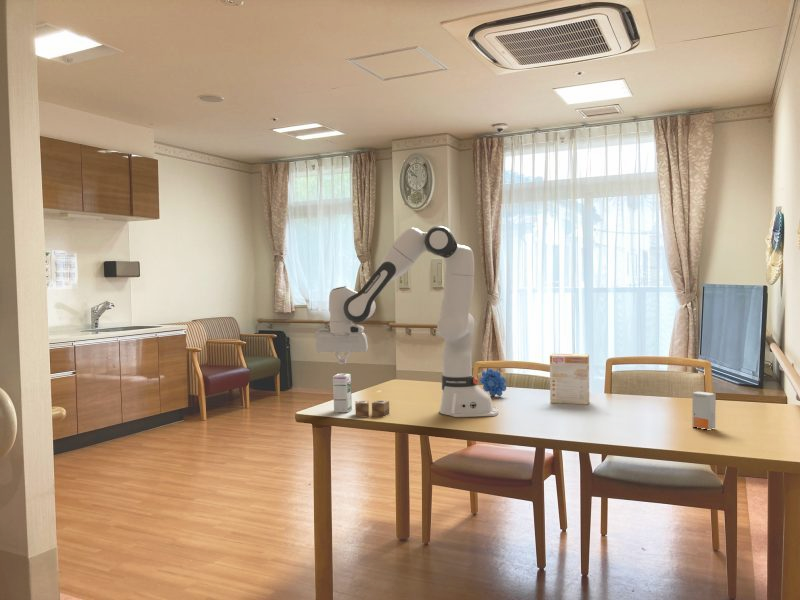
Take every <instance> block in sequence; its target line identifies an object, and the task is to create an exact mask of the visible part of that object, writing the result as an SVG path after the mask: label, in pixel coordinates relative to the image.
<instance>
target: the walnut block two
mask: <svg viewBox="0 0 800 600" xmlns="http://www.w3.org/2000/svg"><path fill="white" fill-rule="evenodd" d="M388 414H389V415H390V401H388V400H376V401H373V402H372V403H371V416H372V415H373V416H372V417H380V416H385V417H386V415H387V416H389V415H388Z"/></svg>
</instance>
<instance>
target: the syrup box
mask: <svg viewBox="0 0 800 600" xmlns="http://www.w3.org/2000/svg"><path fill="white" fill-rule="evenodd" d="M351 375H352V374H351V373H345V372H344V373H337V374H335V375H333V376H332V390H333V391H332V393H333V412H334V413H338V412H348V413H349V412H350V411H352V409H353V405H352V378H351V377H352V376H351Z"/></svg>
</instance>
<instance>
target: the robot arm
mask: <svg viewBox="0 0 800 600" xmlns="http://www.w3.org/2000/svg"><path fill="white" fill-rule="evenodd" d="M425 252H429V253H431V254H432V255H434V256H438V257H442V258H444V261H445V272H444V273H445V274H444V275H445V276H444V287H443V288H444V290H443V291H444V292H443V299H442V302H441V307H440V313H439V318H438V321H437V325H436V329H437V333H438V334H439V336H440V337H441V338H443V339H444V340H445V342H444V349H443V351H442V352H443V353H442V376H441V391H442V392H441V393H442V395H441V402H440V405H439V406H440V407H439V410H438V412H439V413H440V414H441V415H446V416H451V417H452V418H453V417H454V418H468V417H469V418H471V417H495V416H497V415H498V414H499V409H498V407H496V406H495V405H493V400H492V398H491V397H492V396H491V395H490V394H489V392H486V391H484V389H483V388H482V387H480V386H479V385H478V383H479V379H478V377H476V376H474V375H473V373H472V370H473V369H472V367H473V366H472V364H473V363H472V362H473V361H472V357H473V356H472V354H473V344H474V335H475V326H476V322H475V321H476V320H475V318H474V316H473V315H472V314H471V313H470V310H471V305H472V300H473V297H474V287H475V257H474V252H473V250H472V248H471V247H469V246H466V245H463V244H459V243H458V242H457V241H456V239H455V235H454V233H453V232H452V231H451V229H449V228H448V227H446V226H443V225H436V226H432V227H431V228H430V229H428V231H427V232H426V231H425V232H424V231H422V230H421V229H419V228H416V227H408V228H407V229H406V230H405V231H403V232H401V234H400V235H399V236H398V237H397V238H396V239H395V240H394V242H393V243H392V244H391V245H390V247H389V248H388V250H387V251H386V253H385V254H384V256H383V258H382V260H381V261H380V264H379V265H378V266H377V269H376V270H375V271H374V273H373V275H371V277H370V278H369V280H368V281H366V283H365V284H364V286H362V288H361V289H359V291H356V290H354V289H352V288H350V287H349V286H346V285H345V286H339V287H335V288H333V289H332V290H330V292H329V296H328V297H329V298H328V310H329V315H330V316H329V328H318V330H316V331H315V334H314V335H315V340H316V341H315V342H316V343H315V351H316V352H317V353H334V356H335V357H336V359H337V362H338V364H340V365H341V364H347V359H348V357H349V355H350V353H353V352H355V353H357V352H358V353H360V352H361V353H362V352H363V353H364V352H366V351H367V350H368V348H369V345H368V337H367V335H366V333H365V331H364V330H365V327H364V326H363V325H359V324H356V323H362V322H363V321H365V320H366V319H369V318H370V317H371V316H373V315H374V314H375V312H376V308H377V304H376V301H375V300H376V298H378V296H379V295H380V294H381V292H382V291H383V290H384V288H386V287H387V285H389V283H391V282H392V281H394V280H396V279H397V278H400V277H401V276H403V275H404V274H405V273H407V272H408V271H409V270H410V268H411V267H413V265H414V264H415V263H416V262H417V260H418V259H419V257H420V256H422V254H424V253H425ZM340 353H343V354H344V355H345V356H344V357H343V358H341V356H340Z"/></svg>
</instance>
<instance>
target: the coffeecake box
mask: <svg viewBox="0 0 800 600" xmlns="http://www.w3.org/2000/svg"><path fill="white" fill-rule="evenodd" d="M549 389H550V390H549V392H550V393H549V395H550V397H549V402H550V404H551V403H553V404H554V403H555V404H569V405H570V404H572V405H573V404H575V405H589V403H590V354H587V353H586V354H583V353H582V354H578V353H577V354H575V353H573V354H572V353H568V354H567V353H552V354H550V355H549Z"/></svg>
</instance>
